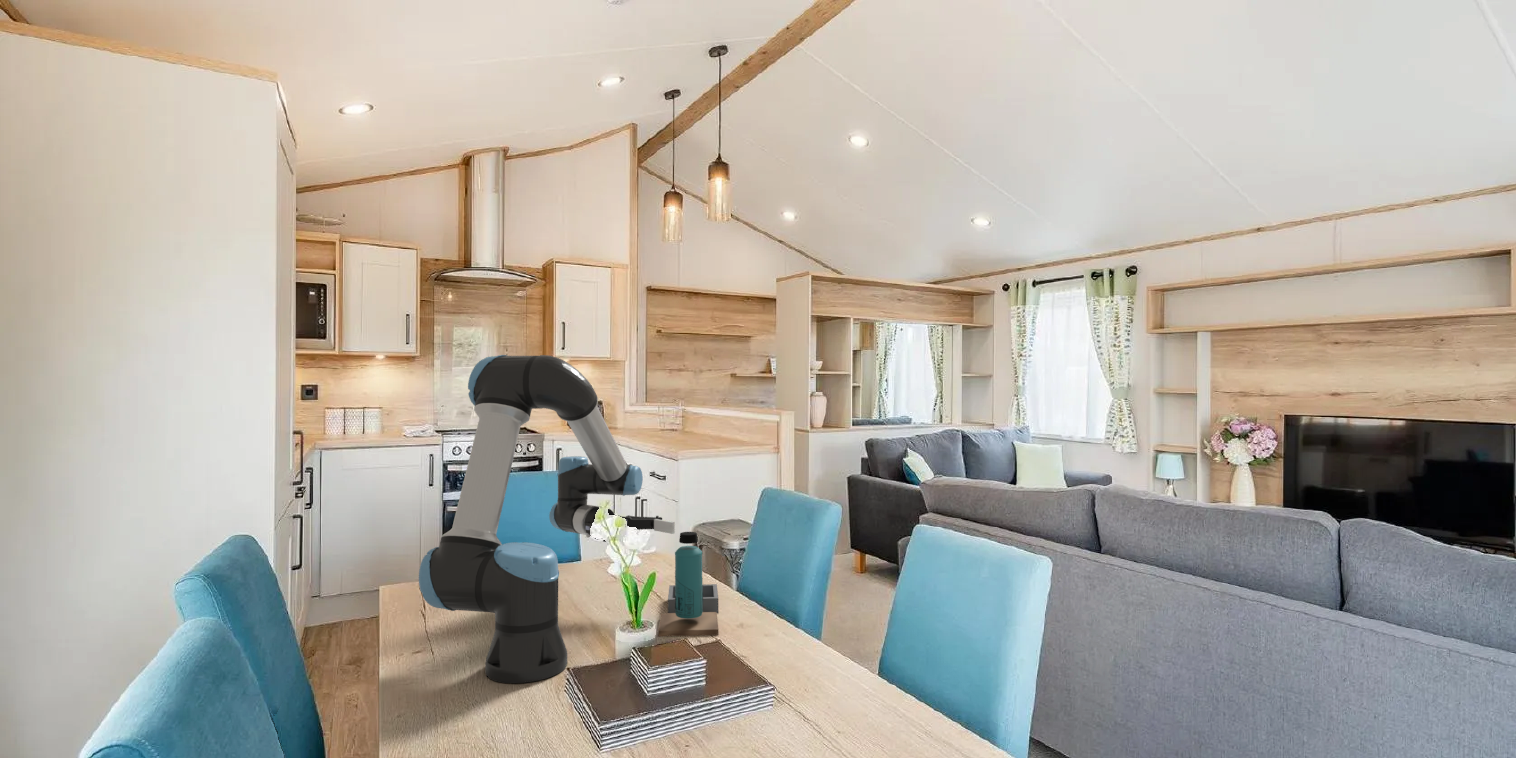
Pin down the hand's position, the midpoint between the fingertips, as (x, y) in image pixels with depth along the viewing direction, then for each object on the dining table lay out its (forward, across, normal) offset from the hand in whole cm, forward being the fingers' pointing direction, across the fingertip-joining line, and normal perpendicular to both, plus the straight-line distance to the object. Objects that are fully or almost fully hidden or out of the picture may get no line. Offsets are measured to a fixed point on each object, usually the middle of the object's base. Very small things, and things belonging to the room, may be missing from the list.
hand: (652, 531), depth 170 cm
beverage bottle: (+10, -2, -19) cm, 22 cm away
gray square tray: (0, -14, -20) cm, 24 cm away
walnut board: (+10, -2, -20) cm, 23 cm away
